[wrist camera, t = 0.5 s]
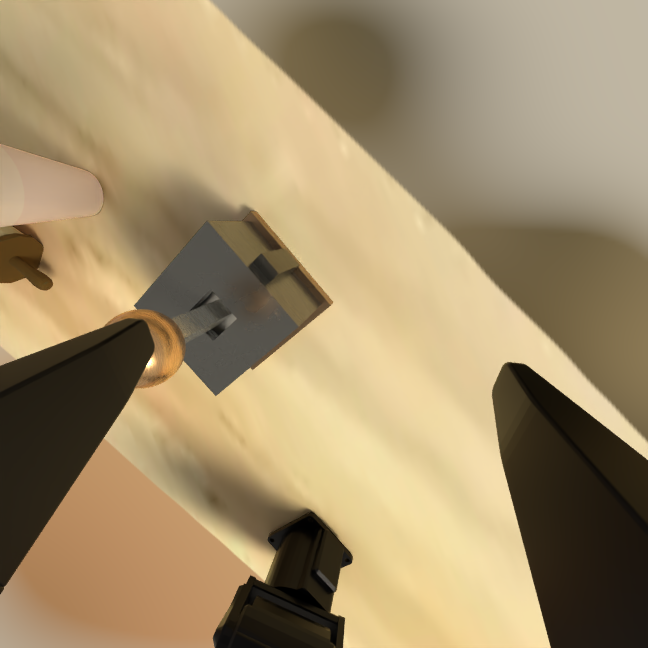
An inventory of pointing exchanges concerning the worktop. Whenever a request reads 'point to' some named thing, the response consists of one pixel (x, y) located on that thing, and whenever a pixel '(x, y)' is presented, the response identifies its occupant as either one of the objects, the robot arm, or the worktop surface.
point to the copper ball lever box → (237, 296)
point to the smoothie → (44, 189)
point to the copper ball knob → (177, 335)
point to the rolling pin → (21, 258)
